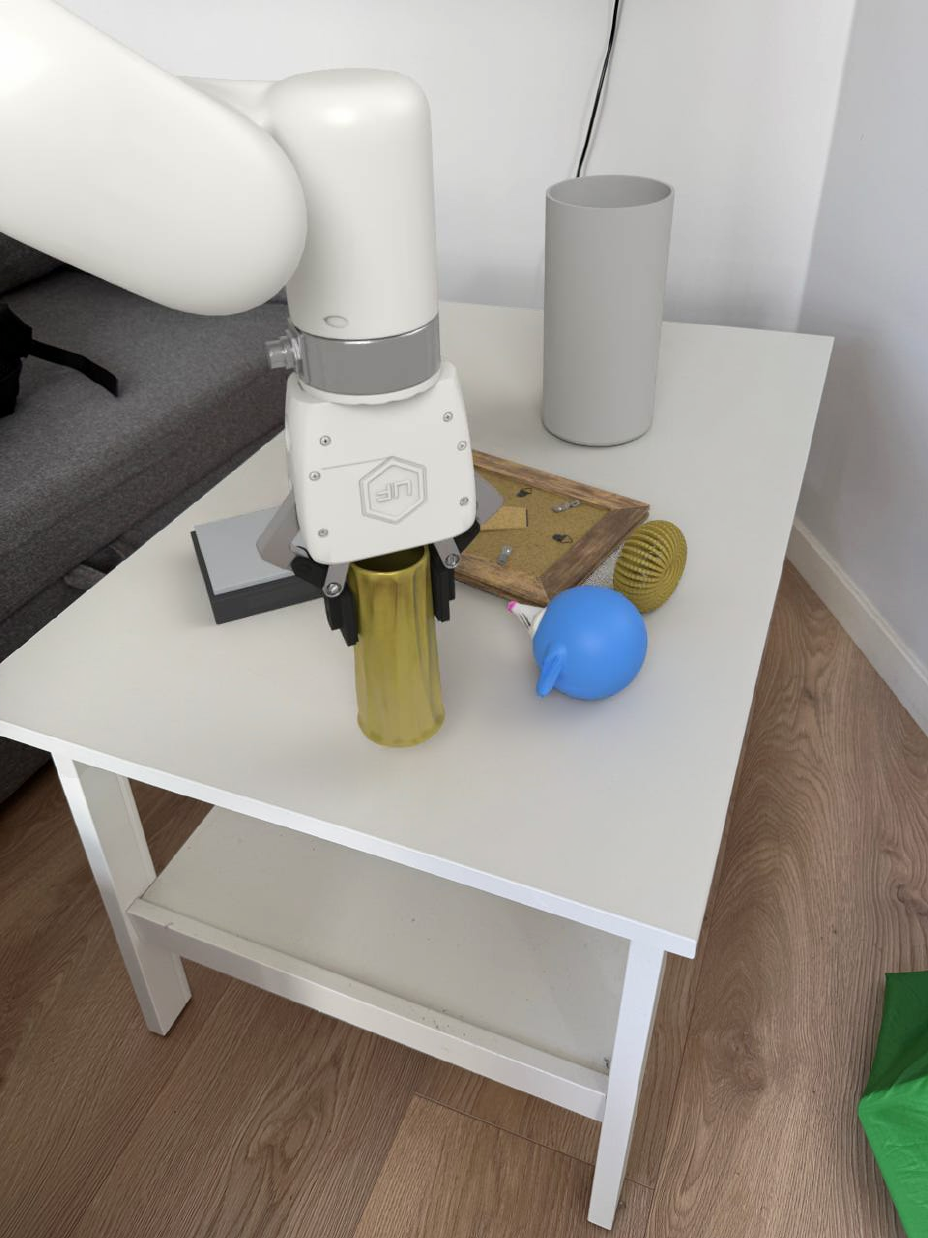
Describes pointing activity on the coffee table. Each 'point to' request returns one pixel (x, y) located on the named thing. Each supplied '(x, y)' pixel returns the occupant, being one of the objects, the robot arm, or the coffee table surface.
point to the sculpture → (650, 564)
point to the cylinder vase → (604, 305)
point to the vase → (396, 648)
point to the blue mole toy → (585, 641)
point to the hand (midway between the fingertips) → (392, 618)
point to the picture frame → (543, 533)
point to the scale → (245, 569)
